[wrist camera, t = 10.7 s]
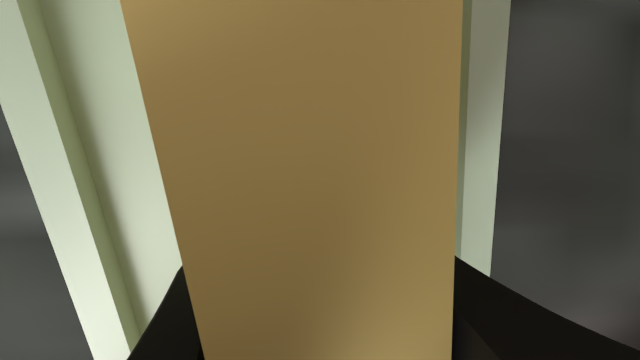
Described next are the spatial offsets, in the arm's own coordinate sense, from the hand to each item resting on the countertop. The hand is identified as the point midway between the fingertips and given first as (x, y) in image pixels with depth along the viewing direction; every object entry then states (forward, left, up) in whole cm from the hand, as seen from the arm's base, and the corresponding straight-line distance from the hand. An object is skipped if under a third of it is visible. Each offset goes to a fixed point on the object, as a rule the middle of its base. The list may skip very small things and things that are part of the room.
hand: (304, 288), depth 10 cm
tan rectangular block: (0, 0, -2) cm, 2 cm away
